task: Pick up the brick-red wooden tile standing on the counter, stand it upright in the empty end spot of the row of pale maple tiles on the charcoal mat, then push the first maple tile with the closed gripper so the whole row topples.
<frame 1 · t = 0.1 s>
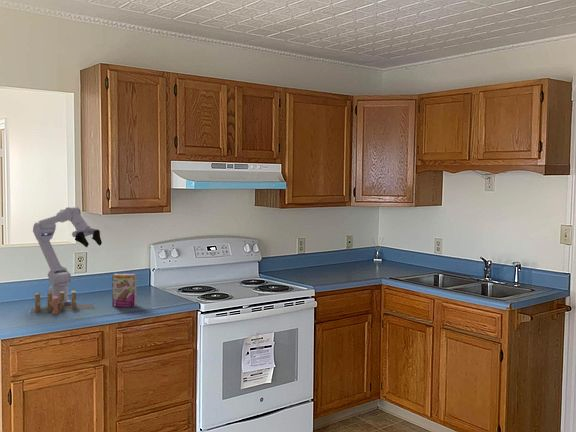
hand: (94, 244, 285), 32 cm above the worktop, tool tilted 50°, fingers open, 7 cm apart
maple tile 2: (50, 309, 285), resting on domino mat
domino mat: (63, 309, 288), on the worktop
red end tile: (55, 313, 278), on the worktop
maple tile 1: (37, 309, 284), resting on domino mat
candy bar box: (124, 306, 295), on the worktop
maple tile 3: (62, 308, 287), resting on domino mat
maple tile 4: (74, 307, 289), resting on domino mat
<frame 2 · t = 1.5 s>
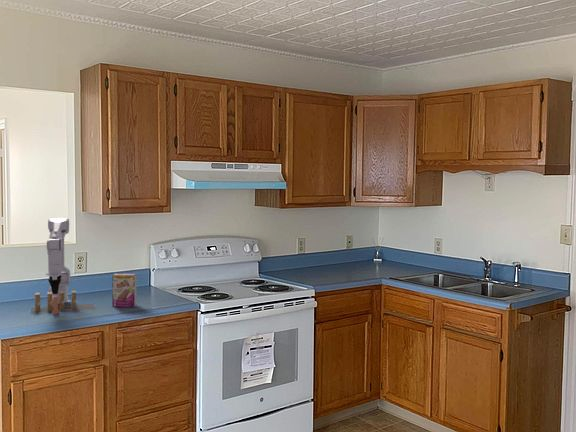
hand: (55, 292, 277), 10 cm above the worktop, tool pointing down, fingers open, 7 cm apart
nothing on the worktop moved.
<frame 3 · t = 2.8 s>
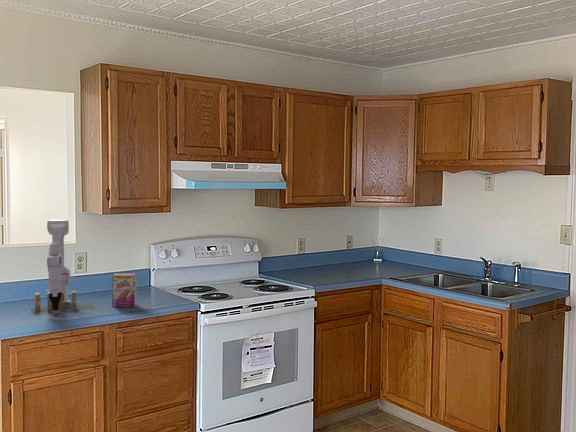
hand: (55, 308, 278), 2 cm above the worktop, tool pointing down, fingers closed on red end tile, 5 cm apart
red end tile: (55, 313, 278), on the worktop, touching gripper
everything else where it was.
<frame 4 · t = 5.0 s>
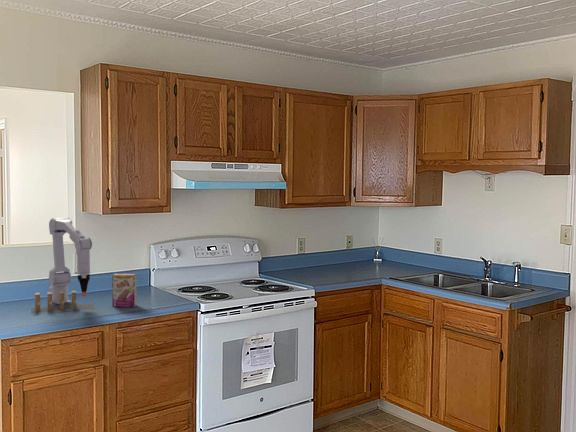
hand: (83, 290, 284), 10 cm above the worktop, tool pointing down, fingers closed on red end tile, 5 cm apart
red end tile: (84, 295, 285), point 7 cm above the worktop, touching gripper
everything else where it was.
when the fingers open (4 cm above the worktop, at t = 7.4 s): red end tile stays where it is, resting on domino mat.
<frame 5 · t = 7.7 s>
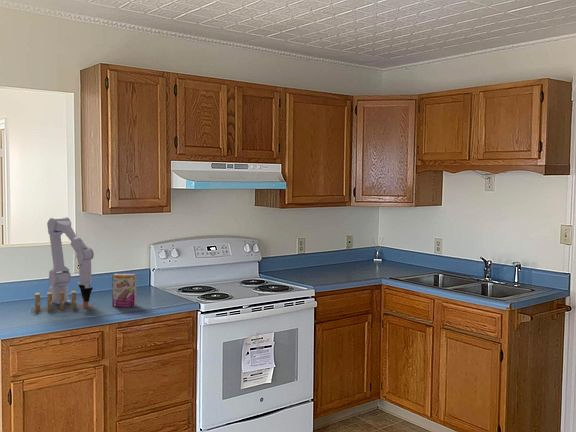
hand: (85, 300, 291), 4 cm above the worktop, tool pointing down, fingers open, 7 cm apart
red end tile: (85, 306, 291), resting on domino mat
everything else where it was.
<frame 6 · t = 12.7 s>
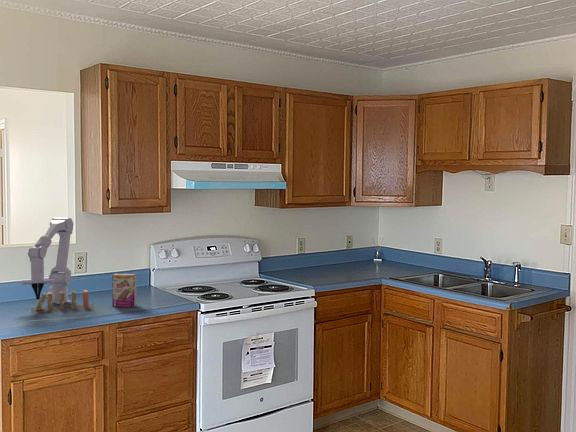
hand: (38, 298, 283), 6 cm above the worktop, tool pointing down, fingers closed
maple tile 1: (38, 309, 284), point 1 cm above the worktop, tilted 24°, touching domino mat
everything else where it was.
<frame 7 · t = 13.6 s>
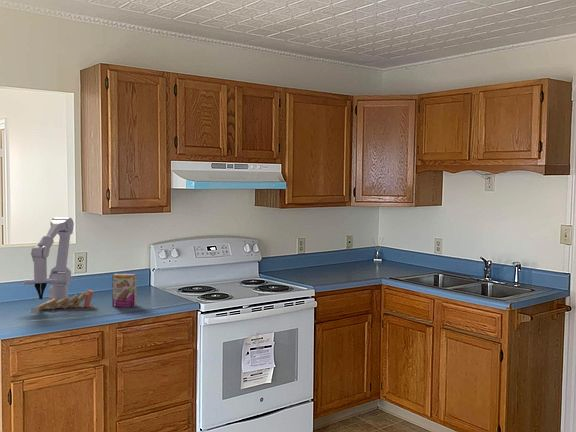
hand: (40, 298, 284), 6 cm above the worktop, tool pointing down, fingers closed
maple tile 2: (51, 307, 286), point 1 cm above the worktop, tilted 63°, touching maple tile 1
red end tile: (85, 306, 291), point 1 cm above the worktop, tilted 18°, touching domino mat
maple tile 1: (39, 307, 284), point 1 cm above the worktop, tilted 67°, touching domino mat, maple tile 2
maple tile 3: (63, 306, 287), point 1 cm above the worktop, tilted 55°, touching domino mat, maple tile 4
maple tile 4: (74, 306, 289), point 1 cm above the worktop, tilted 39°, touching domino mat, maple tile 3
everything else where it was.
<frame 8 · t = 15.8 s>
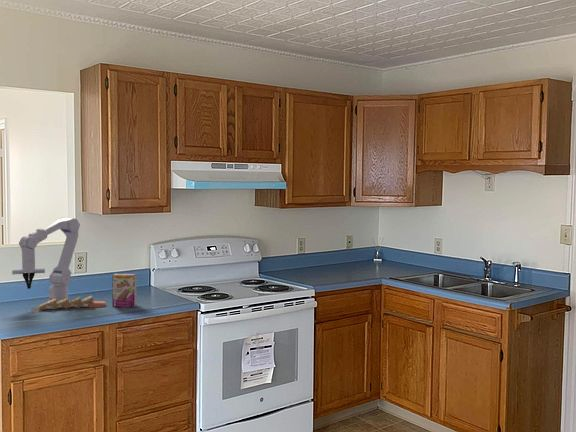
hand: (29, 288, 286), 10 cm above the worktop, tool pointing down, fingers closed
maple tile 2: (52, 307, 286), point 1 cm above the worktop, tilted 69°, touching domino mat, maple tile 1, maple tile 3
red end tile: (88, 304, 292), point 2 cm above the worktop, tilted 95°, touching domino mat, maple tile 4
maple tile 3: (64, 306, 288), point 1 cm above the worktop, tilted 68°, touching domino mat, maple tile 2, maple tile 4
maple tile 4: (77, 305, 290), point 1 cm above the worktop, tilted 66°, touching domino mat, maple tile 3, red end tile
everything else where it was.
at the end: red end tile tilted 95°; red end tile inside the target area on the domino mat (1.1 cm from its centre), point 1.8 cm above the domino mat's base; maple tile 1 tilted 69° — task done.
